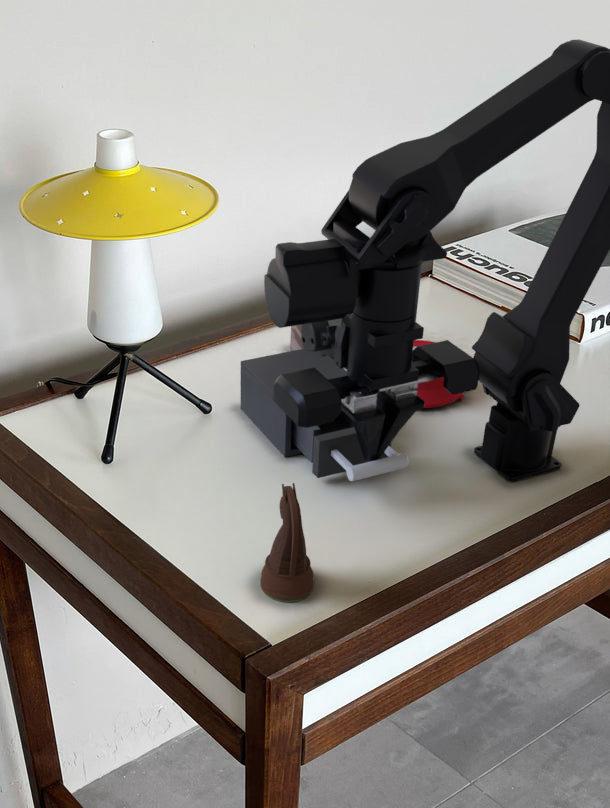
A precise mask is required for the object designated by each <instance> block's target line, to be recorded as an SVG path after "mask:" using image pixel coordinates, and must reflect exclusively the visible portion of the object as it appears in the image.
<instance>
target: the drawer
mask: <svg viewBox="0 0 610 808" xmlns="http://www.w3.org/2000/svg"><path fill="white" fill-rule="evenodd" d="M291 441H292V442H293V443H294V444H295V445H296V447H297V448H298V449H299V450H300V451H301V452H302V453H301V454H302V455H304V456H305V457H306V458H307V459H308V461H309V462H310V463H312V468H311V469H312V470H311V473H312V474H313V475H314V476H315V478H317V479H320V478H325V477H329V476H333V475H338V474H341V473H342V474H343V473H345V472H346V477H347V479H348V481H350V482H355V481H359V480H363V479H367V478H371V477H375V476H379V475H382V474H387V473H391V472H396V471H398V470H402V469H407V468H408V467H409V458H408V456H407V454H406V453H398V452H396V450H394V449H393V448H392V442H391V443H390V445H389V446H388V448H387V449H386V450H385V452H384V453H383V455H382V456H381V457H380V459H378V460H374V461H370V462H367V461H366V460H365V459H364V456H363V453H362V450H361V447H360V444H359V440H358V437H357V434H356V431H355V428H354V425H353V422H352V420H351V418H350V417H349V416H348V415H347V414H346V413H345V412H343V411H342V410H341V413H340V414H339V415H338V416H337V417H336V419H335V420H334V421H333V422H330V423H326V424H322V425H317V426H313V427H308V428H305V427H299V426H297V425H296V424H295V423H294V422H293V421H292V428H291Z"/></svg>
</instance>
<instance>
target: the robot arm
mask: <svg viewBox="0 0 610 808" xmlns="http://www.w3.org/2000/svg"><path fill="white" fill-rule="evenodd" d="M594 100H596V101H600V102H601V103H600V106H599V108H598V111H597V115H596V150H595V154H594V156H593V159H592V160H591V163H590V165H589V167H588V169H587V171H586V173H585V175H584V176H583V178H582V181H581V183H580V184H579V187H578V188H577V191H576V193H575V194H574V197H573V198H572V201H571V202H570V203H569V204H570V205H569V206H568V208H567V210H566V212H565V215H564V216H563V219H562V221H561V222H560V224H559V226H558V228H557V231H556V233H555V234H554V236H553V238H552V240H551V242H550V244H549V245H548V248H547V250H546V252H545V255H544V256H543V258H542V260H541V262H540V264H539V265H538V268H537V270H536V272H535V274H534V276H533V278H532V280H531V282H530V284H529V287H528V288H527V290H526V292H525V294H524V296H523V297H522V300H521V301H520V302H519V304H517V305H516V306H514V307H513V308H512V309H510V310H509V311H508V312H506V313H505V314H504V315H501V314H499V313H497V312H495V311H493V312H491V313H490V314H489V315H488V317H487V318H486V321H485V325H484V327H483V330H482V332H481V334H480V336H479V338H478V339H477V340H476V341H475V342H474V344H472V346H471V349H472V350H473V351H474V355H473V357H472V356H471V355H469V353H467V352H465V351H464V350H462V349H461V348H460V347H458V346H457V345H456V344H454V343H453V342H451V341H450V340H449V339H445V340H443V341H442V340H441V341H437V342H436V341H435V342H436V343H431V344H426V345H421V346H417V347H416V348H415V349H414V350H413V343H414V340H423V338H424V331H425V327H424V326H422V325H421V324H420V323H418V322H417V316H418V305H419V298H420V297H419V296H420V295H419V294H420V286H421V277H422V269H423V268H422V267H423V263H424V262H431V261H438V260H444V259H446V258H447V256H448V252H447V250H446V249H445V248H444V247H442V246H441V245H440V244H439V242H438V241H437V240H436V239H435V237H434V235H433V233H432V230H433V229H435V228H436V227H437V226H438V225H439V224H440V223H441V222H442V221H443V220H444V219H445V218H447V217H448V216H449V215H450V214H451V213H452V212H453V211H454V209H455V208H456V206H457V204H458V203H459V201H460V198H462V196H463V194H464V192H465V190H466V189H467V188H468V187H469V186H470V185H471V184H472V183H474V181H475V180H477V179H478V178H479V177H481V176H482V175H484V174H485V173H486V172H488V171H489V170H491V169H492V168H494V167H495V166H497V165H498V164H500V163H501V162H503V161H504V160H505V159H507V158H508V157H510V156H512V155H513V154H514V153H516V152H517V151H519V150H520V149H522V148H523V147H525V146H526V145H527V144H530V142H532V141H533V140H535V139H536V138H538V137H539V136H541V135H542V134H544V133H546V132H547V131H549V130H550V129H551V128H552V127H554V126H556V125H557V124H558V123H559V122H561V121H563V120H564V119H566V118H568V117H569V116H570V115H572V114H574V112H576V111H578V110H580V108H582V107H583V106H585V105H587V104H588V103H589V102H592V101H594ZM351 177H352V178H351V182H350V184H349V188H348V190H347V192H346V193H345V194H344V196H343V198H342V199H341V201H340V202H339V204H338V205H337V206H336V207H335V209H334V211H333V212H332V213H331V215H330V216H329V217H328V219H327V221H326V222H325V223H324V225H323V226H322V228H321V230H320V232H321V235H322V236H323V237H325V239H323V240H315V241H306V242H292V241H289V242H288V241H287V242H281V243H277V244H276V245H275V256H274V257H273V258H271V260H270V261H269V264H268V266H267V272H266V274H264V276H263V277H264V279H263V282H264V283H263V285H264V298H265V302H266V307H267V310H268V313H269V317H270V318H271V320H272V322H273V324H274V325H275V327H277V328H279V329H282V328H288V327H289V328H290V327H291V326H296V325H302V327H301V339H302V346H303V348H304V349H305V350H306V351H312V352H316V351H320V356H322V357H324V356H326V355H328V356H334V364H335V365H336V366H337V367H339V368H340V369H341V368H343V369H345V370H346V371H347V376H343V377H338V378H333V379H327V378H325V377H324V376H323V375H322V374H321V373H320V372H319V371H318V370H317V369H315V368H309V369H304V370H300V371H295V372H290V373H285V374H281V375H280V376H279V377H278V378H277V379H276V381H275V383H274V388H273V401H274V402H275V403H276V404H277V405H278V406H279V407H280V408H281V409H282V410H283V411H284V412H285V413H286V414H287V415H288V416H289V417H290V419H291V420H292V421H293V422H294V423H295V424H296V425H297V426H299V427H305V428H308V427H313V426H317V425H322V424H326V423H330V422H333V421H334V420H335V419H336V417H337V416H338V415H339V414H340V413H341V410H342V411H343V412H345V413H346V414H347V415H348V416H349V417H350V418H351V420H352V422H353V425H354V428H355V431H356V434H357V437H358V440H359V444H360V447H361V450H362V453H363V456H364V459H365V460H366V461H367V462H370V461H374V460H378V459H380V457H381V456H382V455H383V453H384V452H385V450H386V449H387V448H388V446H389V445H390V443H391V444H392V442H393V441H394V439H395V438H396V436H397V435H398V434H399V432H400V431H401V430H402V428H404V426H405V425H406V424H407V422H408V421H409V420H410V419H412V417H413V416H414V415H415V413H416V412H417V411H420V410H422V409H425V408H424V405H425V401H424V400H422V399H421V398H420V397H419V396H418V395H417V391H418V389H416V388H418V383H423V382H428V381H432V380H436V379H437V378H441V377H444V382H443V387H444V388H445V389H446V390H448V391H449V392H450V393H451V394H452V395H454V394H458V393H462V394H463V393H467V392H471V391H475V390H477V388H478V385H479V383H481V384H482V388H483V389H482V390H483V393H484V394H485V395H487V396H489V397H491V398H492V399H493V400H494V401H496V404H495V405H492V406H490V412H489V418H488V421H487V422H486V423H485V425H484V432H483V437H482V444H481V445H479V446H476V447H474V449H473V454H474V455H475V456H477V457H478V458H479V459H481V460H482V461H483V462H484V463H485V464H486V465H488V466H489V467H490V468H491V469H493V470H494V471H495V472H496V473H497V474H499V475H500V476H501V477H502V478H503V479H505V480H506V481H508V482H510V483H511V482H517V481H520V480H521V481H522V480H524V479H529V478H532V477H535V476H539V475H544V474H547V473H552V472H555V471H559V470H561V469H562V464H563V463H562V462H561V461H559V460H557V459H556V458H555V457H554V456H553V452H554V448H555V443H556V438H557V432H558V430H559V428H560V427H561V426H565V425H570V424H571V423H572V421H573V419H574V418H575V416H576V414H577V413H578V411H579V408H580V402H578V400H576V399H575V397H573V396H572V394H571V393H570V392H569V391H568V390H567V389H566V388H565V387H564V386H563V385H562V384H561V383H562V380H563V378H564V374H565V372H566V370H567V367H568V365H569V361H570V346H571V345H570V344H571V343H570V341H571V340H570V339H571V337H570V336H571V325H572V322H573V320H574V318H575V316H576V314H577V312H578V311H579V308H580V307H581V305H582V303H583V301H584V299H585V298H586V296H587V294H588V292H589V290H590V288H591V286H592V284H593V283H594V280H595V278H596V276H597V275H598V273H599V271H600V270H601V267H602V265H603V263H604V261H605V260H606V258H607V256H608V254H609V252H610V48H608V47H606V46H603V45H600V44H597V43H593V42H590V41H586V40H583V39H571V40H569V41H565V42H563V43H560V45H558V46H557V47H556V48H554V50H553V52H552V53H551V55H550V56H549V57H547V58H546V59H544V60H542V61H541V62H540V63H539V64H537V65H535V66H534V67H533V68H531V69H530V70H528V71H527V72H525V73H523V74H522V75H521V76H519V77H518V78H517V79H515V80H513V81H512V82H511V83H509V84H508V85H506V86H505V87H503V88H502V89H500V90H499V91H497V92H496V93H494V94H493V95H491V96H490V97H489V98H487V99H486V100H484V101H483V102H481V103H480V104H478V105H477V106H475V107H474V108H472V109H471V110H469V111H468V112H467V113H465V114H464V115H462V116H461V117H459V118H458V119H456V120H455V121H453V122H452V123H450V124H448V126H446V127H444V128H443V129H441V130H439V131H437V132H435V133H433V134H430V135H428V136H424V137H419V138H416V139H412V140H411V139H410V140H408V141H403V142H399V143H398V144H395V145H393V146H391V147H389V148H387V149H384V150H383V151H381V152H377V153H376V154H374V155H372V156H370V157H368V158H366V159H365V160H364V161H363V162H361V163H360V164H359V166H357V167H356V168H355V170H354V171H353V172H352V175H351ZM362 223H365V224H366V225H368V227H370V228H371V229H373V230H374V232H373V233H372V235H371V236H368V235H367V234H366V233H365V232H363V231H362V230H360V229H359V228H358V226H359V225H360V224H362ZM329 320H330V321H329Z"/></svg>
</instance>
